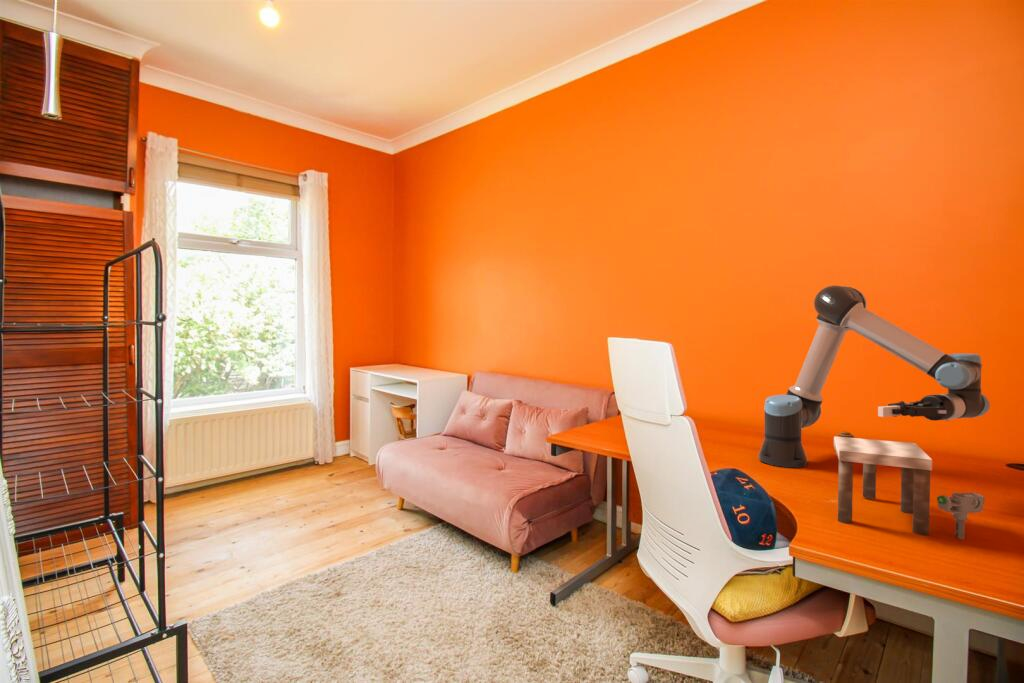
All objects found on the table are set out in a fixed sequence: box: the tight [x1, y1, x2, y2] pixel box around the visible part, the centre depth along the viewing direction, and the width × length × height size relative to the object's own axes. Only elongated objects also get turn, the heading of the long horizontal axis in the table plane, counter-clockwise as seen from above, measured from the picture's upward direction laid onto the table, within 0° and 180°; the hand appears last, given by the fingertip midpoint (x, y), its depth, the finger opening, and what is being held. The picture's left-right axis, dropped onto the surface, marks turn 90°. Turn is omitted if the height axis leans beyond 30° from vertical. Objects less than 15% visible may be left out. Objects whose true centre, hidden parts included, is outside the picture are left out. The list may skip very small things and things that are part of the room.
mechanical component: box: [936, 492, 985, 540], centre depth 115 cm, size 3×10×10 cm, turn 95°
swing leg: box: [862, 463, 877, 500], centre depth 138 cm, size 10×3×15 cm, turn 151°
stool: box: [833, 435, 933, 536], centre depth 128 cm, size 18×18×18 cm
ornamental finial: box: [833, 430, 856, 452], centre depth 192 cm, size 8×8×8 cm
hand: (880, 411), depth 142 cm, fingers closed
